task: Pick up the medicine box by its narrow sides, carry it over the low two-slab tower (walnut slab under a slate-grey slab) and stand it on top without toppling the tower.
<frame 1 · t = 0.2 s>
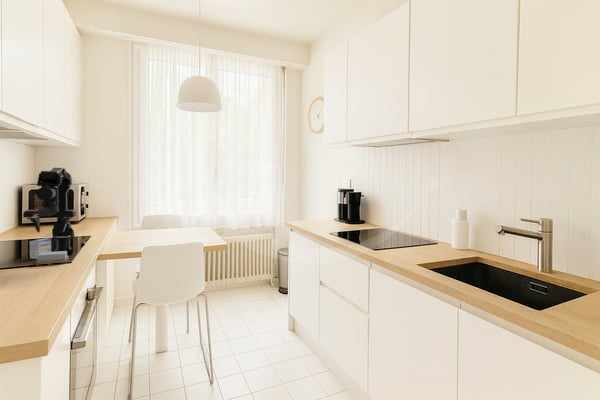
hand: (51, 232, 150), 14 cm above the worktop, fingers open, 9 cm apart
tower top: (52, 258, 151), point 2 cm above the worktop, touching tower base
medicine box: (40, 257, 159), on the worktop
tower base: (52, 263, 151), on the worktop, touching tower top
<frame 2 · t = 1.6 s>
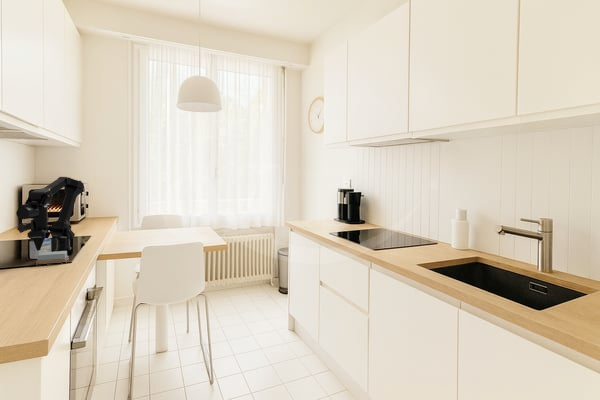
hand: (40, 248, 159), 4 cm above the worktop, fingers open, 9 cm apart
nothing on the worktop moved.
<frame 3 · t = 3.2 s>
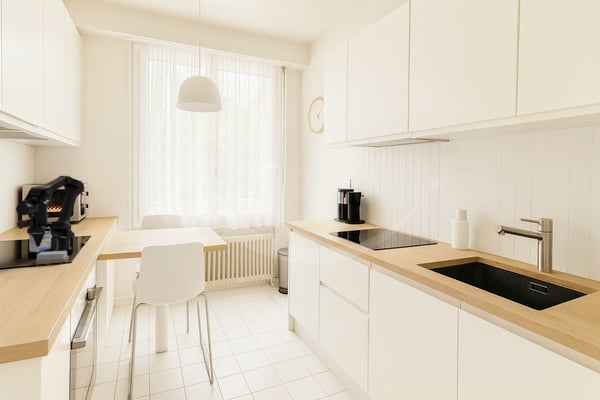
hand: (40, 244, 159), 6 cm above the worktop, fingers closed on medicine box, 9 cm apart
medicine box: (40, 250, 159), point 3 cm above the worktop, touching gripper
everything else where it was.
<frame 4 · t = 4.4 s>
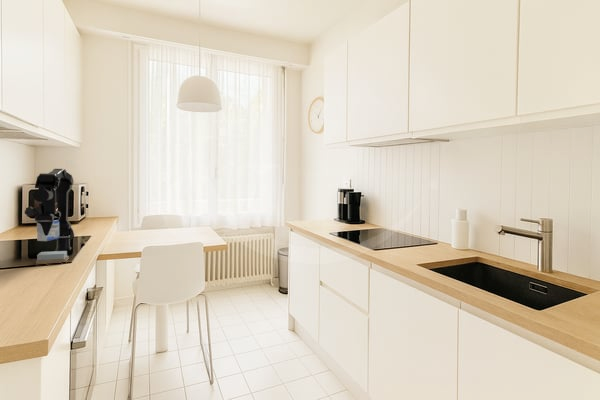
hand: (48, 234, 152), 13 cm above the worktop, fingers closed on medicine box, 9 cm apart
medicine box: (48, 239, 152), point 10 cm above the worktop, touching gripper
everything else where it was.
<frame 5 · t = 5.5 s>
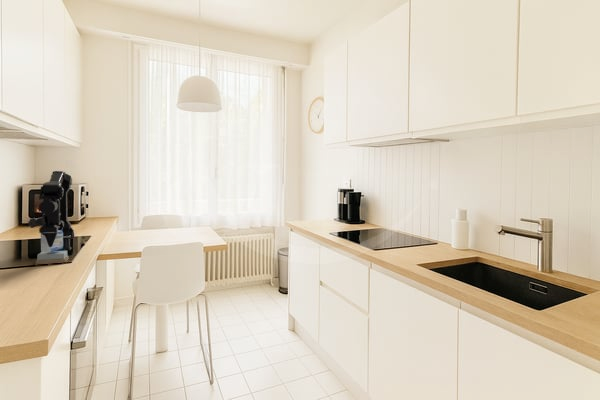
hand: (52, 244, 150), 8 cm above the worktop, fingers closed on medicine box, 9 cm apart
tower top: (52, 257, 151), point 2 cm above the worktop
medicine box: (52, 250, 151), point 5 cm above the worktop, touching gripper
tower base: (52, 263, 151), on the worktop
when the fingers open (8 cm above the worktop, at t = 6.1 s): medicine box drops 1 cm, resting on tower top.
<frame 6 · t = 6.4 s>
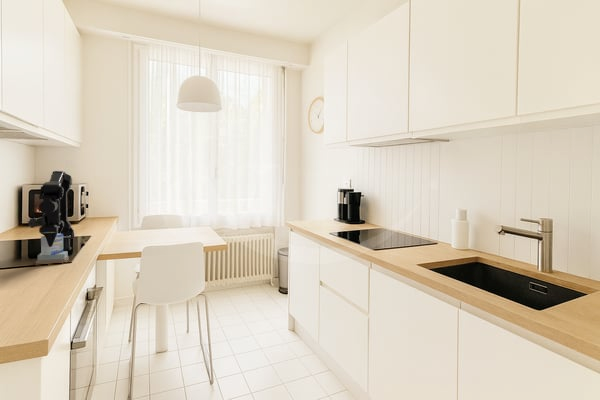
hand: (52, 244, 150), 8 cm above the worktop, fingers open, 9 cm apart
tower top: (53, 258, 151), point 2 cm above the worktop, touching medicine box
medicine box: (52, 253, 151), point 4 cm above the worktop, touching gripper, tower top
everything else where it was.
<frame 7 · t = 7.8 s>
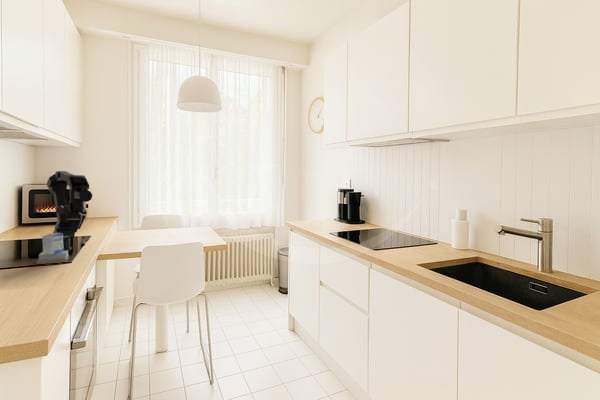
hand: (76, 230, 164), 13 cm above the worktop, fingers open, 9 cm apart
tower top: (54, 257, 152), point 2 cm above the worktop, touching medicine box, tower base
medicine box: (53, 253, 151), point 4 cm above the worktop, touching tower top
tower base: (53, 263, 151), on the worktop, touching tower top
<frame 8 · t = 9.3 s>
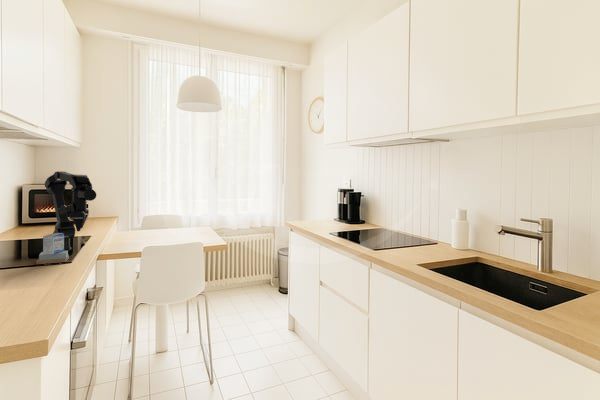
hand: (79, 229, 166), 13 cm above the worktop, fingers open, 9 cm apart
nothing on the worktop moved.
at the end: medicine box inside the target area (0.7 cm from its centre), point 4.1 cm above the worktop; medicine box tilted 1°; tower top moved 1.1 cm from its start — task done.
